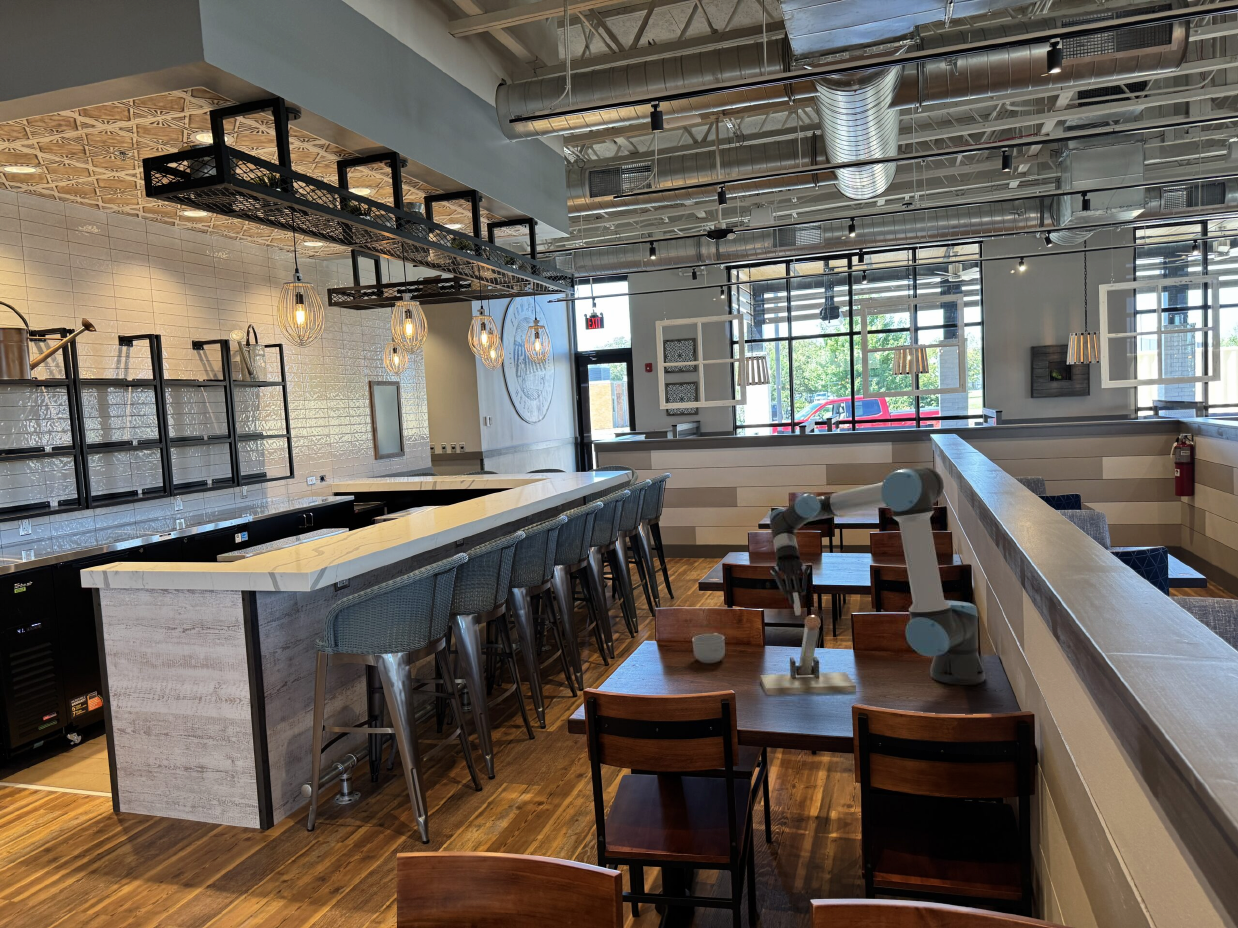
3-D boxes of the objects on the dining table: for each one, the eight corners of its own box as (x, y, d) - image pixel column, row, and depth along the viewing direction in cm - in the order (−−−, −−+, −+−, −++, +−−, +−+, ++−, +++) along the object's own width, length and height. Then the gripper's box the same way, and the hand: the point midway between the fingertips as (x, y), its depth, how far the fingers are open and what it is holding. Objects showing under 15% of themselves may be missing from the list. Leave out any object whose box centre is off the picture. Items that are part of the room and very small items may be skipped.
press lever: (811, 666, 248) (820, 611, 230) (813, 679, 244) (823, 623, 227) (794, 667, 248) (803, 612, 230) (797, 679, 245) (805, 624, 227)
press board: (845, 678, 248) (845, 654, 248) (856, 691, 236) (855, 666, 236) (760, 681, 249) (759, 657, 248) (766, 694, 237) (765, 669, 236)
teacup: (714, 667, 264) (714, 643, 264) (686, 662, 271) (685, 638, 271) (735, 656, 275) (735, 633, 275) (708, 651, 282) (707, 629, 282)
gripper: (805, 556, 269) (817, 618, 254) (765, 557, 270) (776, 619, 254) (807, 542, 264) (821, 605, 248) (767, 544, 264) (778, 607, 248)
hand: (798, 612), depth 251 cm, fingers closed
